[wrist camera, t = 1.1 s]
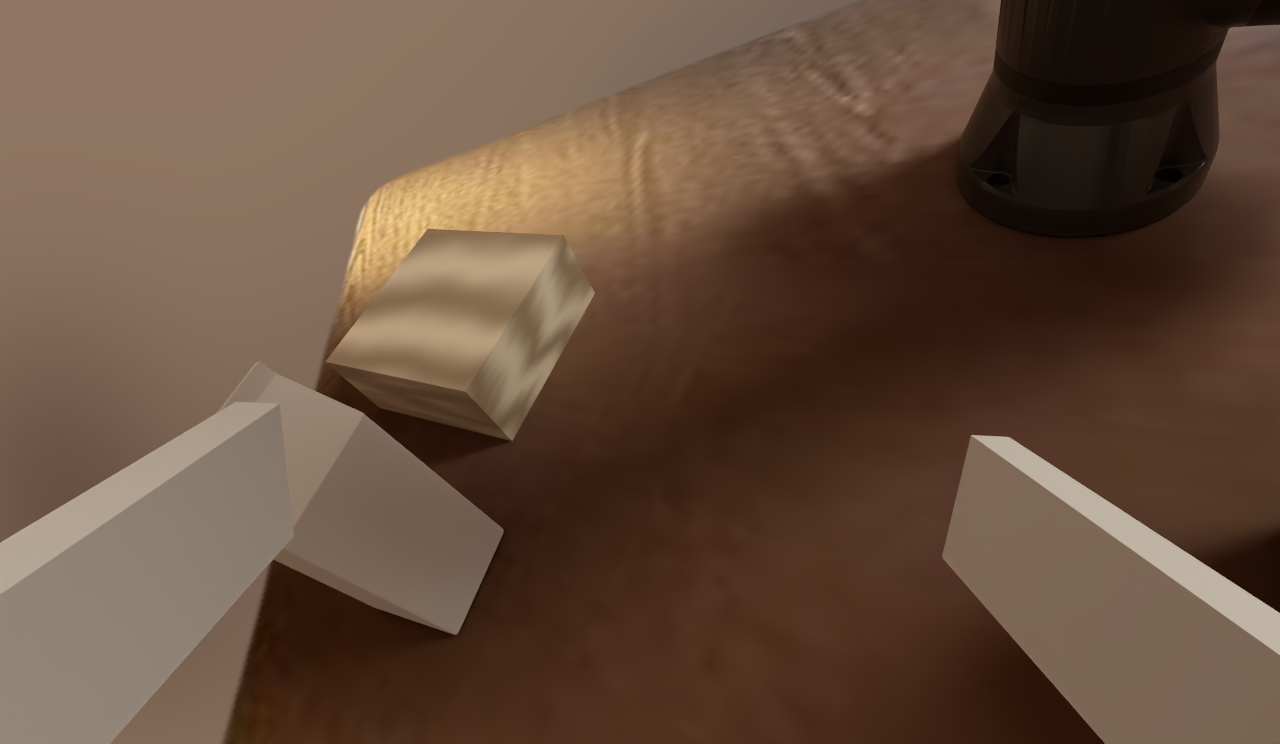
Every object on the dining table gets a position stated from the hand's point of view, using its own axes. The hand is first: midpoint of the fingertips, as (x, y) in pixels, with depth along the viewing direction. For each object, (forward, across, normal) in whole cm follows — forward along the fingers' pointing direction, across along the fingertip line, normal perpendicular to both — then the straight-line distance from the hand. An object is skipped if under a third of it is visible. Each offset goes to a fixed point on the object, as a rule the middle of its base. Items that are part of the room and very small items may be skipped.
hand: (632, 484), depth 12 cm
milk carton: (+26, -11, -21) cm, 35 cm away
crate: (+42, -10, -10) cm, 45 cm away
